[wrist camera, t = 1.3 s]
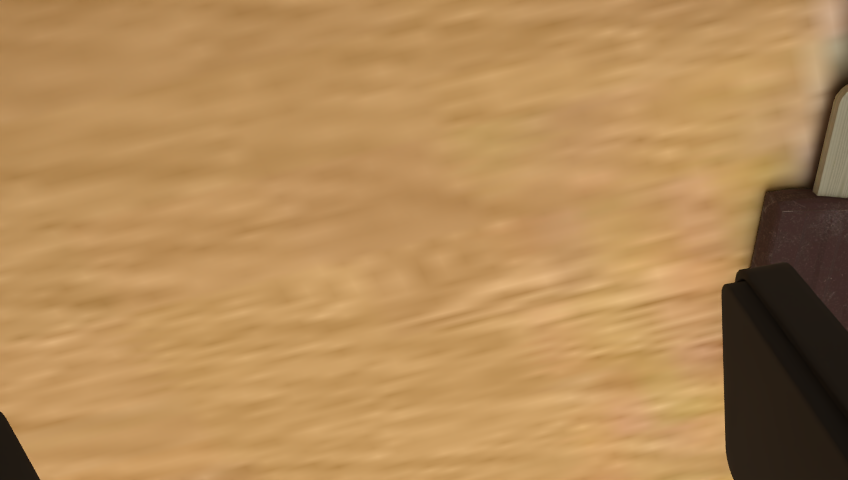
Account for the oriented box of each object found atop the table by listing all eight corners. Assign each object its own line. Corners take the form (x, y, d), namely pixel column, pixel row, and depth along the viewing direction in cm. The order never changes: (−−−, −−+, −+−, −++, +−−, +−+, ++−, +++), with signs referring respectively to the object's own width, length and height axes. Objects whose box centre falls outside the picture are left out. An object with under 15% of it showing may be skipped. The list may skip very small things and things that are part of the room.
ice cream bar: (787, 77, 32) (725, 381, 39) (805, 89, 31) (737, 402, 38) (917, 75, 32) (832, 378, 39) (941, 87, 31) (849, 399, 38)
